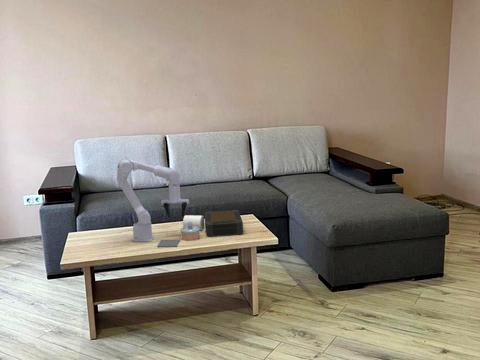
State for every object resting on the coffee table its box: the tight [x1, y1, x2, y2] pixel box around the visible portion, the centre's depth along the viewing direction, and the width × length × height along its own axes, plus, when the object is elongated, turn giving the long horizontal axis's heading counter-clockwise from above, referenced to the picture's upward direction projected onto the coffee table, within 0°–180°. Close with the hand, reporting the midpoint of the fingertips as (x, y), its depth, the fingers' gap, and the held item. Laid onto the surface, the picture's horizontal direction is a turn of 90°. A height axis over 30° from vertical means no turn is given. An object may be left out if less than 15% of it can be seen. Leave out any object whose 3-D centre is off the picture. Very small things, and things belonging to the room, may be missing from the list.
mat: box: [156, 238, 181, 248], centre depth 257 cm, size 10×10×1 cm
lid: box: [180, 222, 201, 233], centre depth 264 cm, size 10×10×4 cm
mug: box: [182, 214, 205, 231], centre depth 281 cm, size 12×10×8 cm
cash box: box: [204, 209, 244, 238], centre depth 278 cm, size 25×20×8 cm
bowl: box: [180, 231, 200, 242], centre depth 265 cm, size 9×9×4 cm
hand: (176, 216), depth 268 cm, fingers open, 7 cm apart
